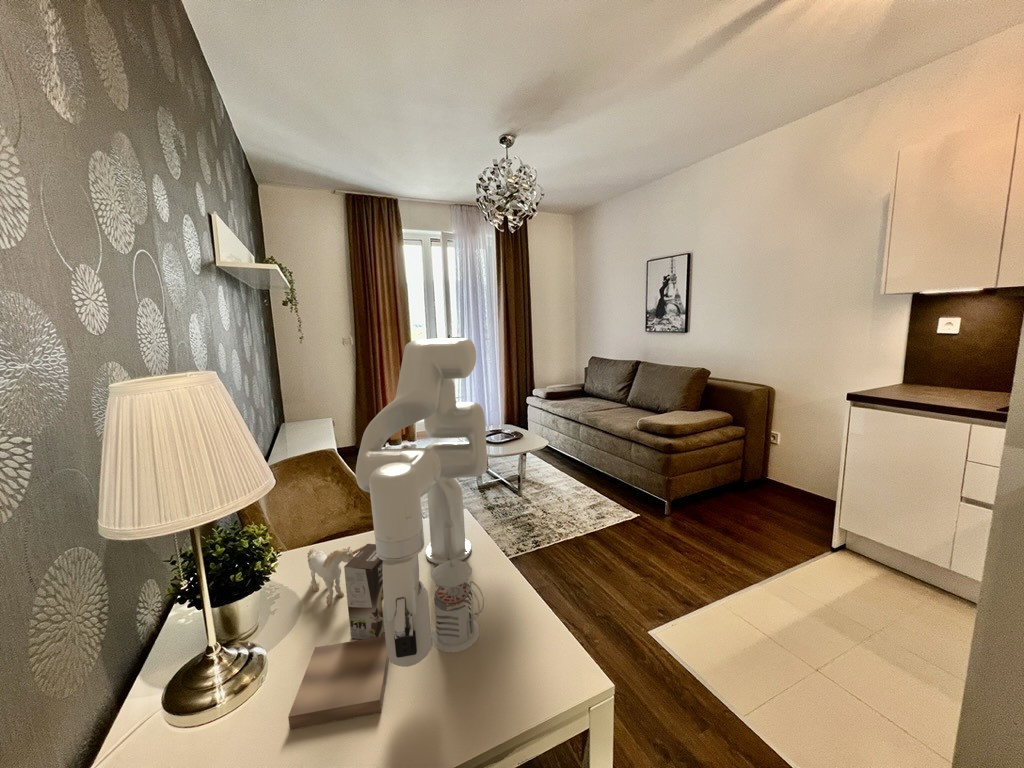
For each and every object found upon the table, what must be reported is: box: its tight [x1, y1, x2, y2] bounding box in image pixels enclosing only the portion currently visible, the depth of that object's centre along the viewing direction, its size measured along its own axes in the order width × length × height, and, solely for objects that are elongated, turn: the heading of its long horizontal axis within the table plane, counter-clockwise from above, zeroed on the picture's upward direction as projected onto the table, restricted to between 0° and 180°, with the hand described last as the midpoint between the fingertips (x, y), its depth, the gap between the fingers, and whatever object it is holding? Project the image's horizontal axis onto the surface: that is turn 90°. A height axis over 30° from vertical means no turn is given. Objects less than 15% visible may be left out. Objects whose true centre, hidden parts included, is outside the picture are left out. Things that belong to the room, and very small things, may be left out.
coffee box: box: [343, 543, 385, 640], centre depth 85 cm, size 9×6×16 cm
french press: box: [431, 520, 485, 653], centre depth 80 cm, size 10×12×25 cm
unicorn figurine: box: [306, 543, 371, 605], centre depth 95 cm, size 7×20×13 cm, turn 67°
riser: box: [287, 635, 390, 731], centre depth 72 cm, size 14×14×2 cm
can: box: [382, 580, 433, 668], centre depth 67 cm, size 8×8×12 cm
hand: (408, 634), depth 68 cm, fingers closed on can, 7 cm apart
